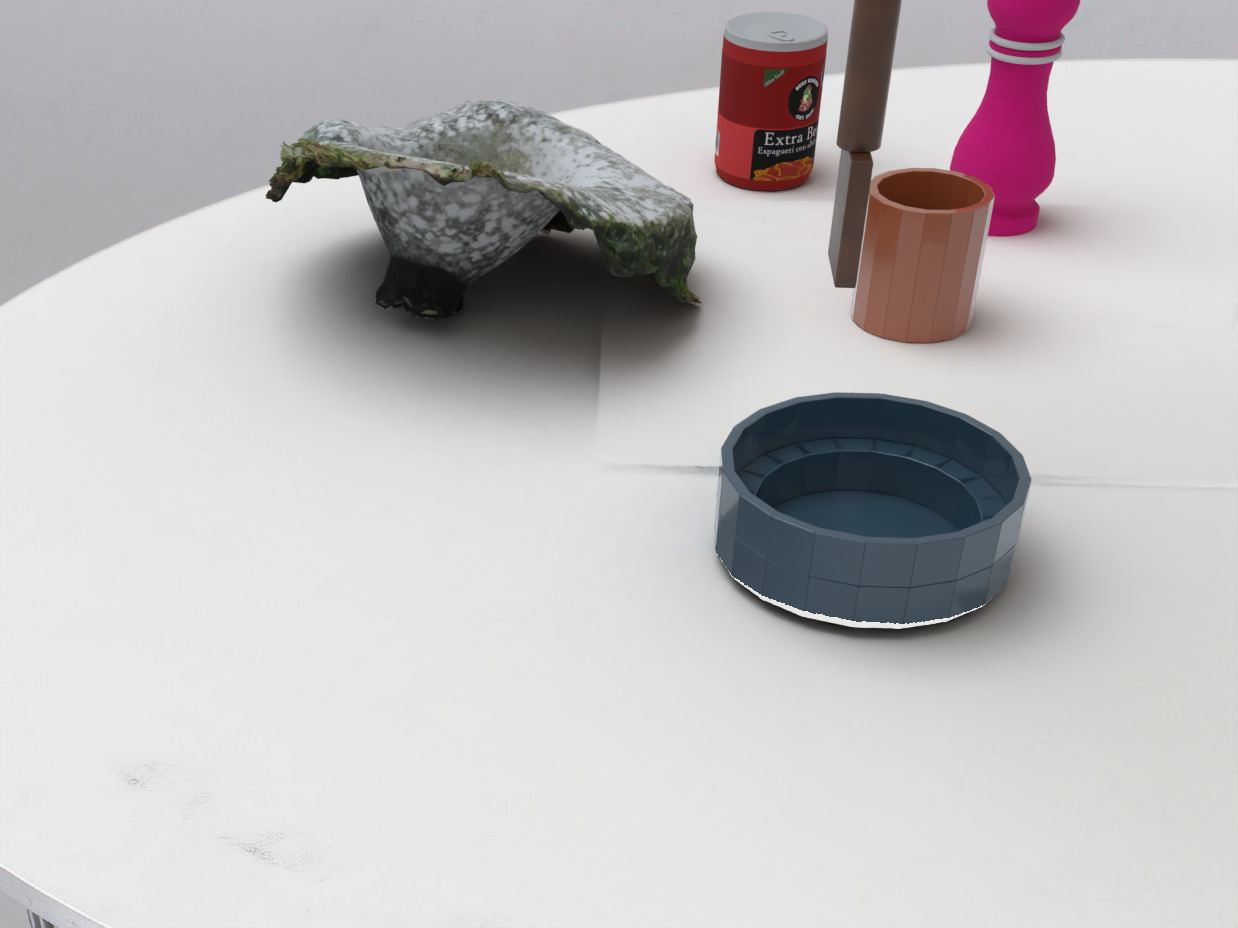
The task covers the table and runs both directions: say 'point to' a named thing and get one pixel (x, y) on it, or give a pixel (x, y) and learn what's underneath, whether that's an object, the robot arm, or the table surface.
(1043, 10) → the pepper mill
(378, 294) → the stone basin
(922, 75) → the table surface
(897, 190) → the crock
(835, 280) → the long wooden stick
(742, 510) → the bowl
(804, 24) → the canned food
